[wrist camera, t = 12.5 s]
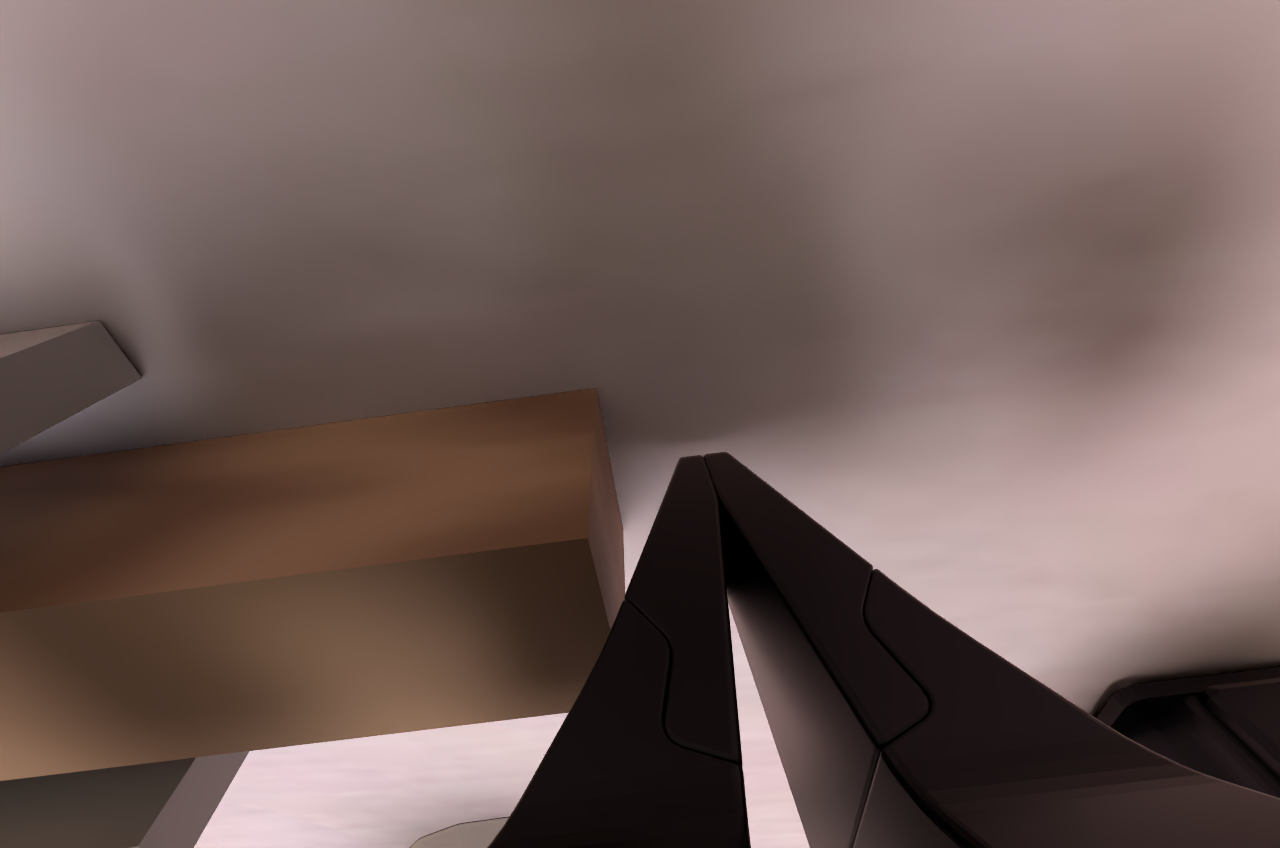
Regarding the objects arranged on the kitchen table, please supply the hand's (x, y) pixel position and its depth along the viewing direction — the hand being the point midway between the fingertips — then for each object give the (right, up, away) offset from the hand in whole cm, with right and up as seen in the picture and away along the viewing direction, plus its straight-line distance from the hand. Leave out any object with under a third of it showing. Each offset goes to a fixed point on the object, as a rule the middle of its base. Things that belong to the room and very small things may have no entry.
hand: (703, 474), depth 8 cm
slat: (-9, -1, +1) cm, 9 cm away
